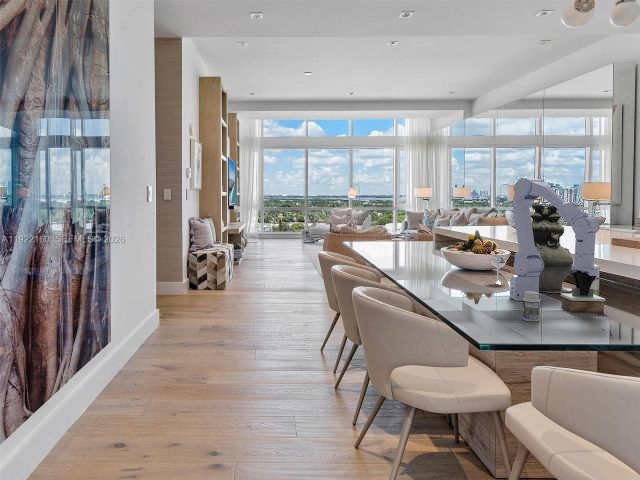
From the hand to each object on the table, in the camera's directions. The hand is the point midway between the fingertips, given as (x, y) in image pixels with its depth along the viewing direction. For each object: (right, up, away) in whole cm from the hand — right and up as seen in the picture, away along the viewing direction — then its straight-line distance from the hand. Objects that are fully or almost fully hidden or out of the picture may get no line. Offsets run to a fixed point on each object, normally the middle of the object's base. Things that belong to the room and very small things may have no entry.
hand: (582, 294), depth 165 cm
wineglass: (-7, -1, +58) cm, 58 cm away
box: (0, -5, 0) cm, 5 cm away
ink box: (+18, -4, +30) cm, 35 cm away
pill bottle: (-23, -6, -15) cm, 28 cm away
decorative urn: (+5, -3, +41) cm, 41 cm away
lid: (0, -1, 0) cm, 1 cm away
